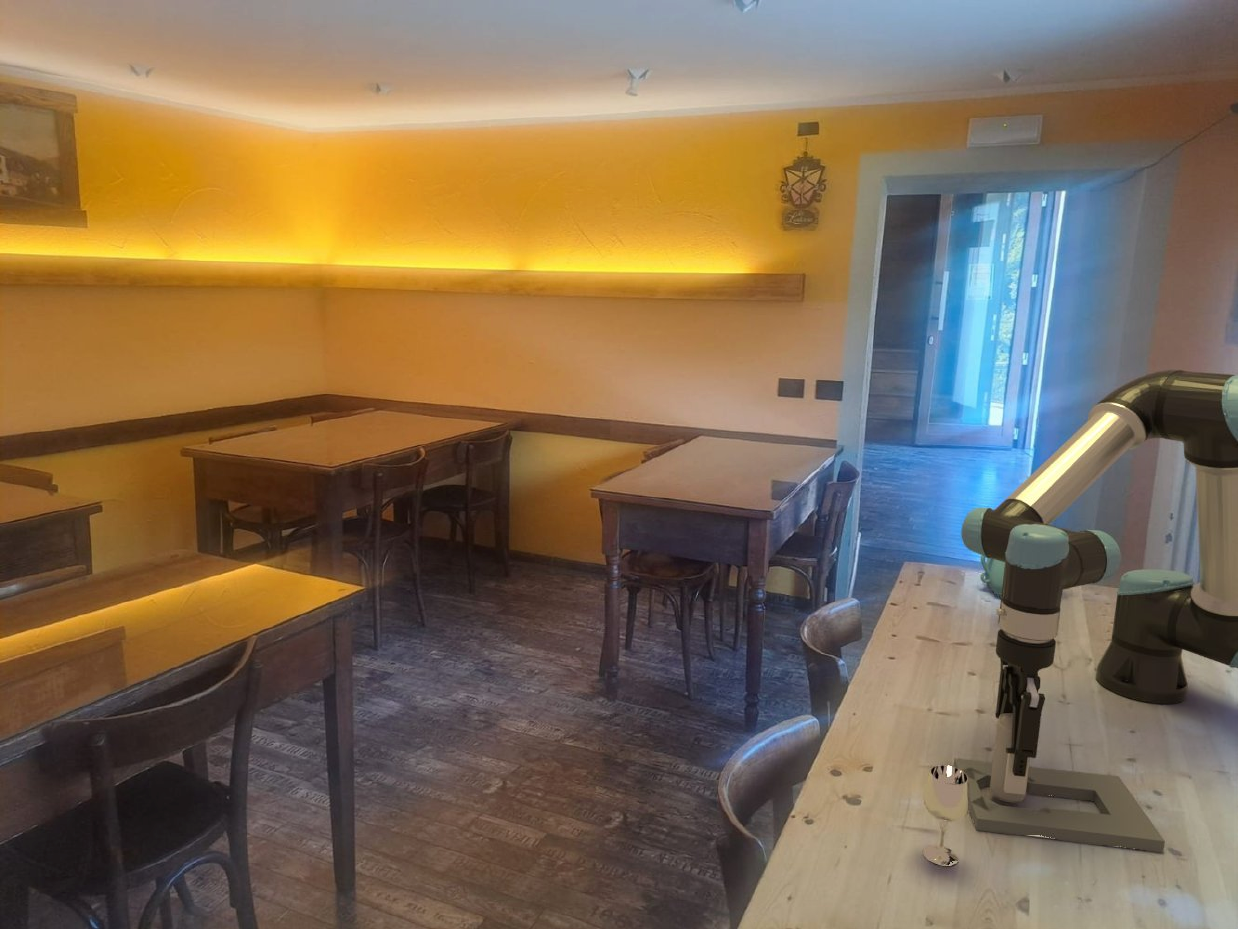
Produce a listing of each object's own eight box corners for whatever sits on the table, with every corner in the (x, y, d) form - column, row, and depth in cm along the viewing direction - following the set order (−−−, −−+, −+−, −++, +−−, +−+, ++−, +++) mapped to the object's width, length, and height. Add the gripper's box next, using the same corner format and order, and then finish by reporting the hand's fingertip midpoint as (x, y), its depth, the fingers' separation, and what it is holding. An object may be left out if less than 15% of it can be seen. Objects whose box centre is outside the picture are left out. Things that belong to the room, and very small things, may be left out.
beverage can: (1028, 806, 122) (1038, 730, 120) (993, 802, 123) (1002, 727, 121) (1020, 788, 127) (1029, 714, 124) (986, 783, 128) (994, 711, 125)
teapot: (1023, 610, 204) (1030, 557, 201) (966, 589, 218) (972, 539, 215) (1069, 598, 213) (1076, 547, 210) (1012, 579, 227) (1017, 530, 224)
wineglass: (910, 843, 115) (918, 763, 113) (951, 841, 116) (959, 762, 113) (929, 871, 110) (937, 788, 107) (971, 869, 110) (981, 786, 108)
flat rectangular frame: (1117, 787, 129) (1118, 776, 129) (1163, 853, 114) (1164, 841, 114) (953, 768, 134) (954, 758, 133) (976, 830, 118) (977, 818, 118)
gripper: (984, 609, 129) (969, 747, 134) (1015, 656, 112) (997, 814, 116) (1036, 613, 128) (1019, 753, 132) (1076, 662, 110) (1055, 821, 115)
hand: (1009, 781), depth 124 cm, fingers closed on beverage can, 5 cm apart
